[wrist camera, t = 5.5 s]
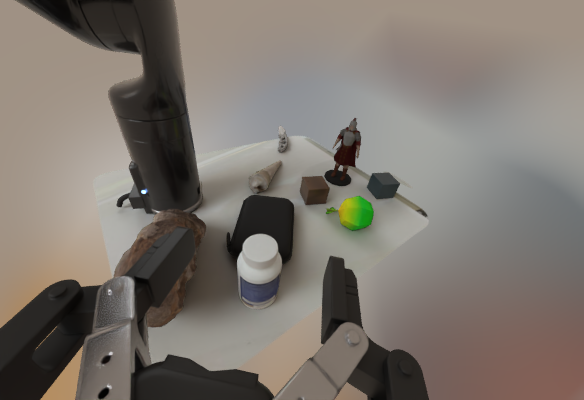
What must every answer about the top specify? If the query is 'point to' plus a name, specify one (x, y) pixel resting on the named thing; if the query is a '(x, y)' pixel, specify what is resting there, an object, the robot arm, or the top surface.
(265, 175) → the seashell
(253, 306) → the pill bottle
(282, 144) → the knife
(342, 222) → the apple
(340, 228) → the top surface
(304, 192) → the walnut block
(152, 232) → the rock
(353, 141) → the figurine
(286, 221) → the carrying case
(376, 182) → the slate block
